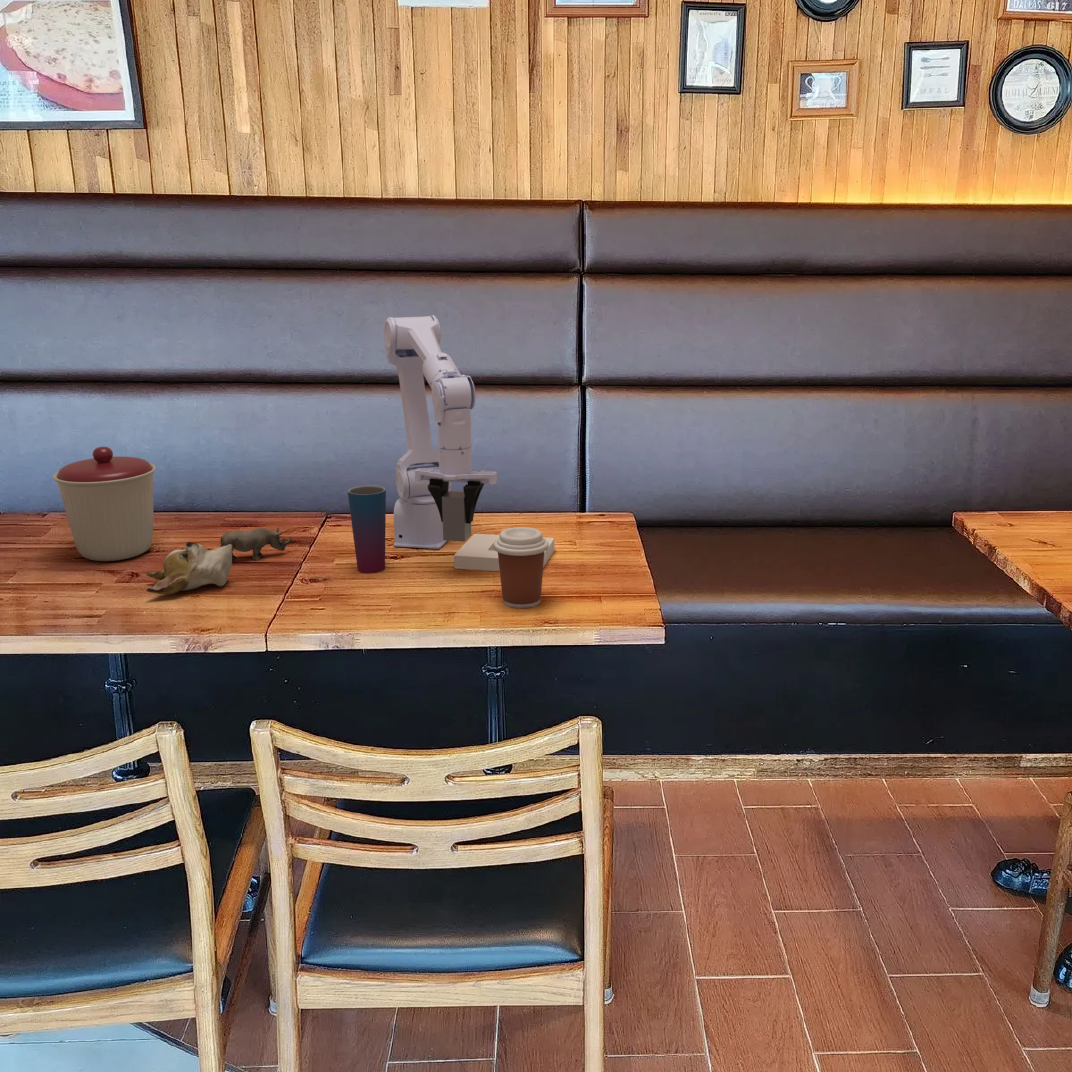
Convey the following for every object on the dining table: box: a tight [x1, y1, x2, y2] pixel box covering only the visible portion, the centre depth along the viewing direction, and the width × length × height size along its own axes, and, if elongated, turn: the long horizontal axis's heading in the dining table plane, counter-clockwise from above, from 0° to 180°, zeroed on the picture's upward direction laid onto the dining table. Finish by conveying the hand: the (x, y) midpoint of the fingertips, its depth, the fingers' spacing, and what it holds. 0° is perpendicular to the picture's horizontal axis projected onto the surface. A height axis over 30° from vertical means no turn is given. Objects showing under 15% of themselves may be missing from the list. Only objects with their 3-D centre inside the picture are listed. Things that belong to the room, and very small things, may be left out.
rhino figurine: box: [219, 527, 293, 562], centre depth 191 cm, size 4×14×6 cm, turn 113°
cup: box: [347, 484, 387, 574], centre depth 183 cm, size 7×7×15 cm
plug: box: [442, 490, 472, 543], centre depth 179 cm, size 4×4×8 cm
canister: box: [52, 446, 157, 562], centre depth 192 cm, size 18×18×21 cm
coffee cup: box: [493, 526, 549, 609], centre depth 167 cm, size 9×9×12 cm
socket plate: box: [453, 533, 555, 572], centre depth 190 cm, size 16×14×2 cm
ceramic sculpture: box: [145, 541, 233, 595], centre depth 175 cm, size 11×9×15 cm
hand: (457, 521), depth 180 cm, fingers closed on plug, 4 cm apart
